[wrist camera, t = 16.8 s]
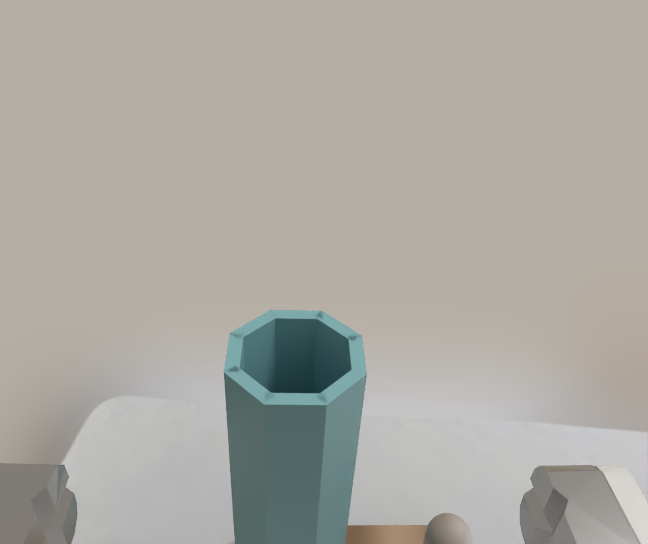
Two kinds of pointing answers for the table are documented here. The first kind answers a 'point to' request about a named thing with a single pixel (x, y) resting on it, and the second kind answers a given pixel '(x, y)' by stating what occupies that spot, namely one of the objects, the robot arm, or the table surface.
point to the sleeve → (293, 426)
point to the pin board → (413, 532)
